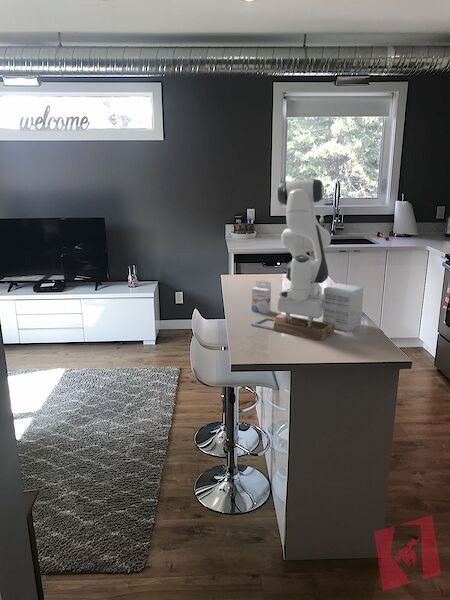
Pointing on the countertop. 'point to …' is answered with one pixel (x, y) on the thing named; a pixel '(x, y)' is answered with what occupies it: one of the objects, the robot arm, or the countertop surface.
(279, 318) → the terracotta block
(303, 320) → the walnut cubby
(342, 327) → the supplement box
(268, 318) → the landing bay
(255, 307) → the ink box
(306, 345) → the countertop surface
